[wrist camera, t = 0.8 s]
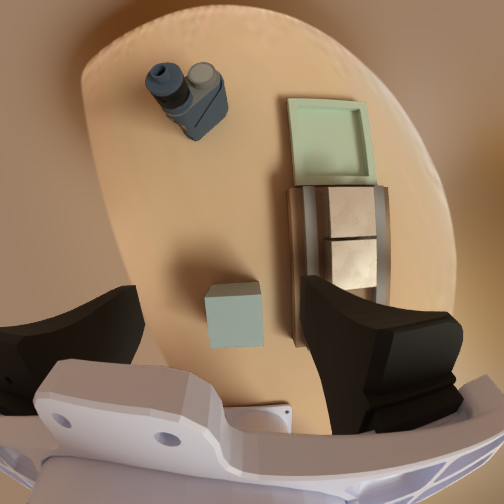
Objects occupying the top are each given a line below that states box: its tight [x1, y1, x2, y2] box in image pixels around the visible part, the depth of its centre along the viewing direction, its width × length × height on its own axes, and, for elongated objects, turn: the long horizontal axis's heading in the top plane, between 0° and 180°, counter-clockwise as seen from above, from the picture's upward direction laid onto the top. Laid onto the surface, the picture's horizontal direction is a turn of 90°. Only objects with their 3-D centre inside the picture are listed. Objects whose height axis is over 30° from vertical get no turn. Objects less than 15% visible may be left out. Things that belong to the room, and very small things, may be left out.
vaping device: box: [145, 62, 228, 141], centre depth 19 cm, size 3×5×12 cm, turn 134°
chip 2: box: [324, 237, 377, 290], centre depth 23 cm, size 4×4×2 cm
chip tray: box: [287, 98, 377, 187], centre depth 25 cm, size 9×8×1 cm
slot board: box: [286, 186, 391, 351], centre depth 25 cm, size 14×10×3 cm, turn 4°
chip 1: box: [321, 187, 376, 238], centre depth 23 cm, size 4×4×2 cm
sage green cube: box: [205, 281, 264, 348], centre depth 25 cm, size 4×4×5 cm
